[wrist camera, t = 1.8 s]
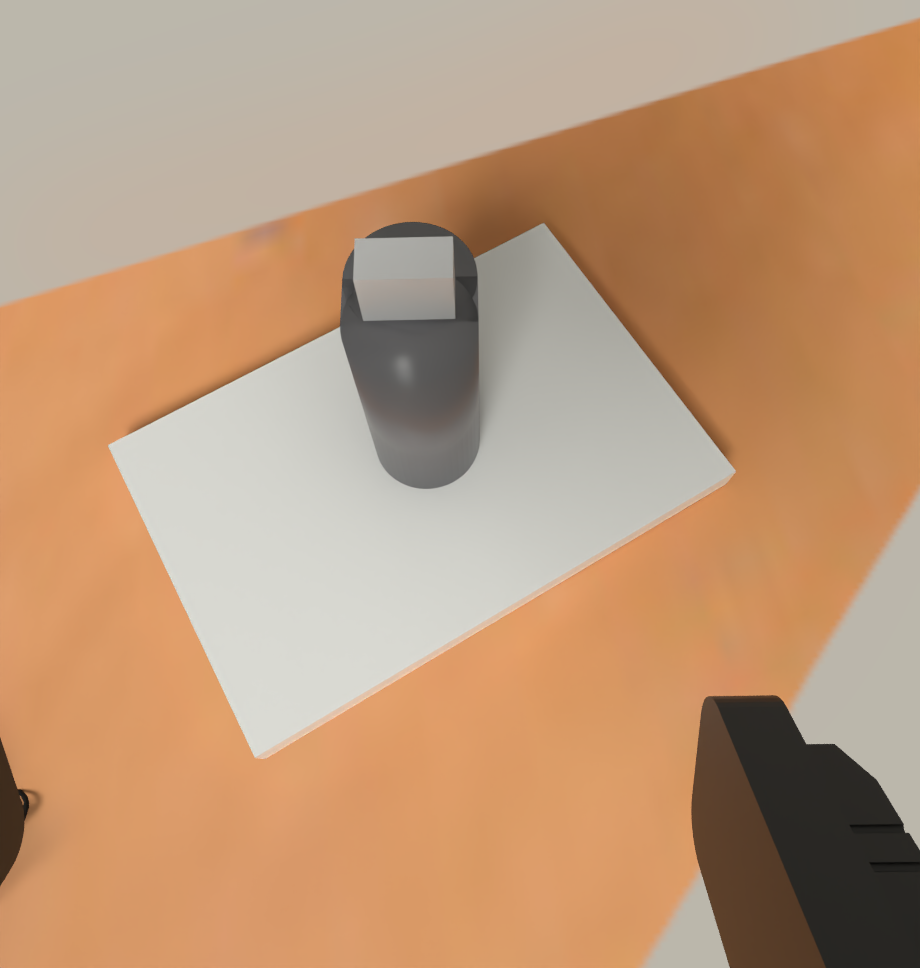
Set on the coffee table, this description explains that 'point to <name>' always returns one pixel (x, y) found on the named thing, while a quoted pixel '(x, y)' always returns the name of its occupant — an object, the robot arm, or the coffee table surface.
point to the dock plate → (408, 497)
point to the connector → (415, 349)
